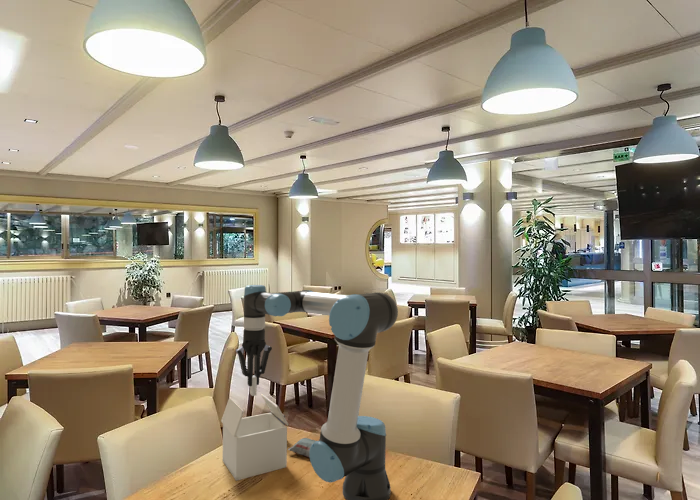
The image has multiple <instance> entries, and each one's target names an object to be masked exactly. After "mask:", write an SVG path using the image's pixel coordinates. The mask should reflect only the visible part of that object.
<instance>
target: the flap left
mask: <svg viewBox="0 0 700 500" xmlns="http://www.w3.org/2000/svg"><path fill="white" fill-rule="evenodd" d="M244 413H245V411H244V409H243V408H241V406H239V404H237V402H235V400H234V399H233V398H231V397H229V398H228V400H227V404H226V405H225V408H224V411H223V415H222V417H221V420H220V422H221V423H222V425H223V424H224V426H225V427H226V428H227V429H228V430H229V432H230V433H231V434H232V435H233V437H236V434H237V431H238V428H239V425H240V422H241V419H242V418H243V416H244Z"/></svg>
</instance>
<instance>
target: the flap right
mask: <svg viewBox="0 0 700 500" xmlns="http://www.w3.org/2000/svg"><path fill="white" fill-rule="evenodd" d="M260 395H261V397H262V399H263V401H264V402H265V404H266V405H267V407H268V409H269V411H270V413H271V412H272V413H273V414H274V415H275V416H277V417H278V418H279V419H280V420H281V421H282V422H284V423H285V426H286V427H288V426H289V422H288V421H287V419H286V416H285V417H284V416H283V414H284V413H282V410H281V409H280V407H279V405H278V404H276V403H275V402H274V401H272V400H271V399H270V398H269V397H268V396H266V395H265V394H263V393H261V394H260Z"/></svg>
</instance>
